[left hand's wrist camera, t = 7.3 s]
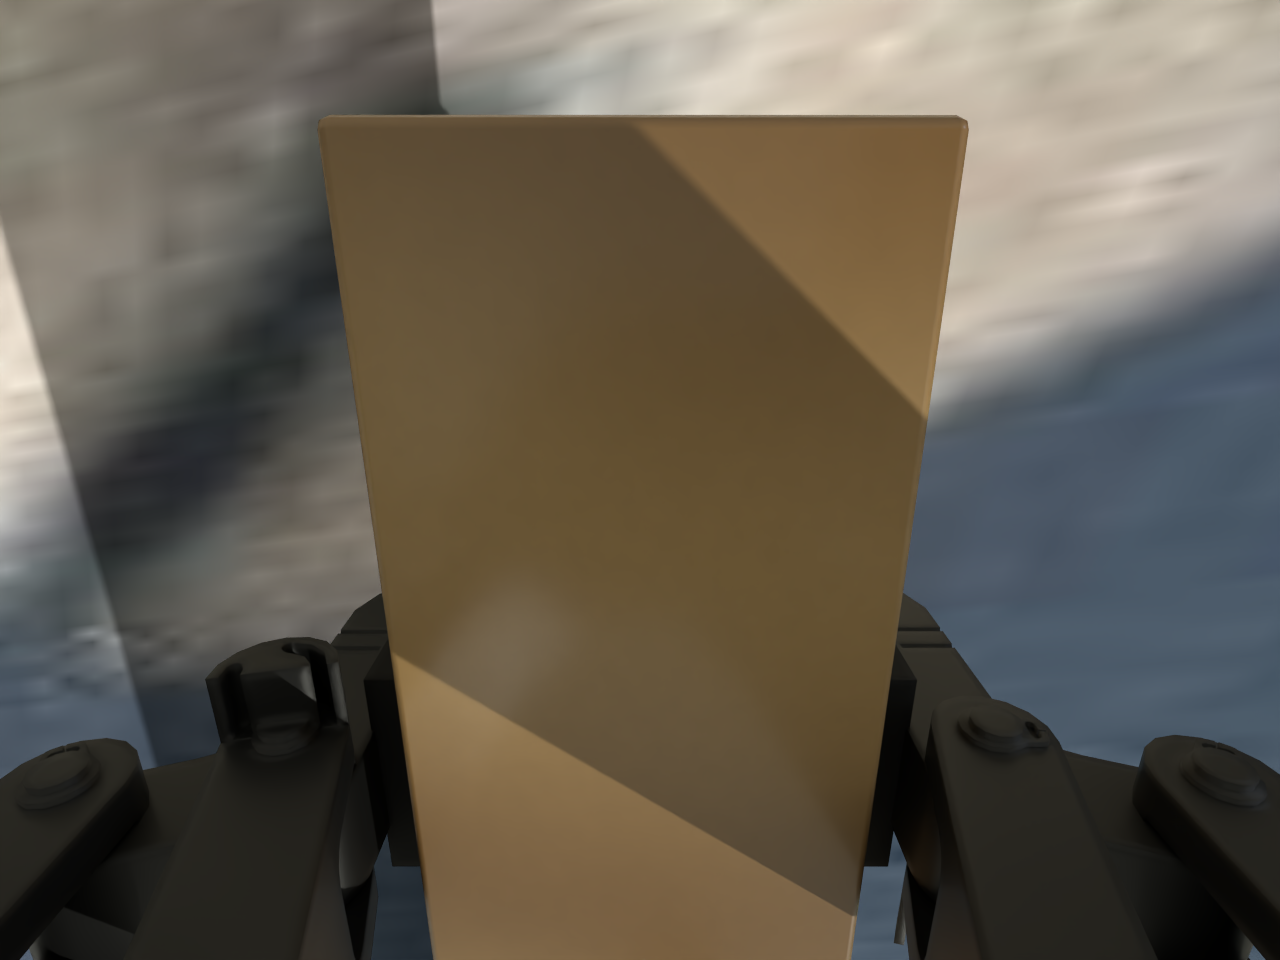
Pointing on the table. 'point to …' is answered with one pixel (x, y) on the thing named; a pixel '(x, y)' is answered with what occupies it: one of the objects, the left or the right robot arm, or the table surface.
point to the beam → (642, 506)
